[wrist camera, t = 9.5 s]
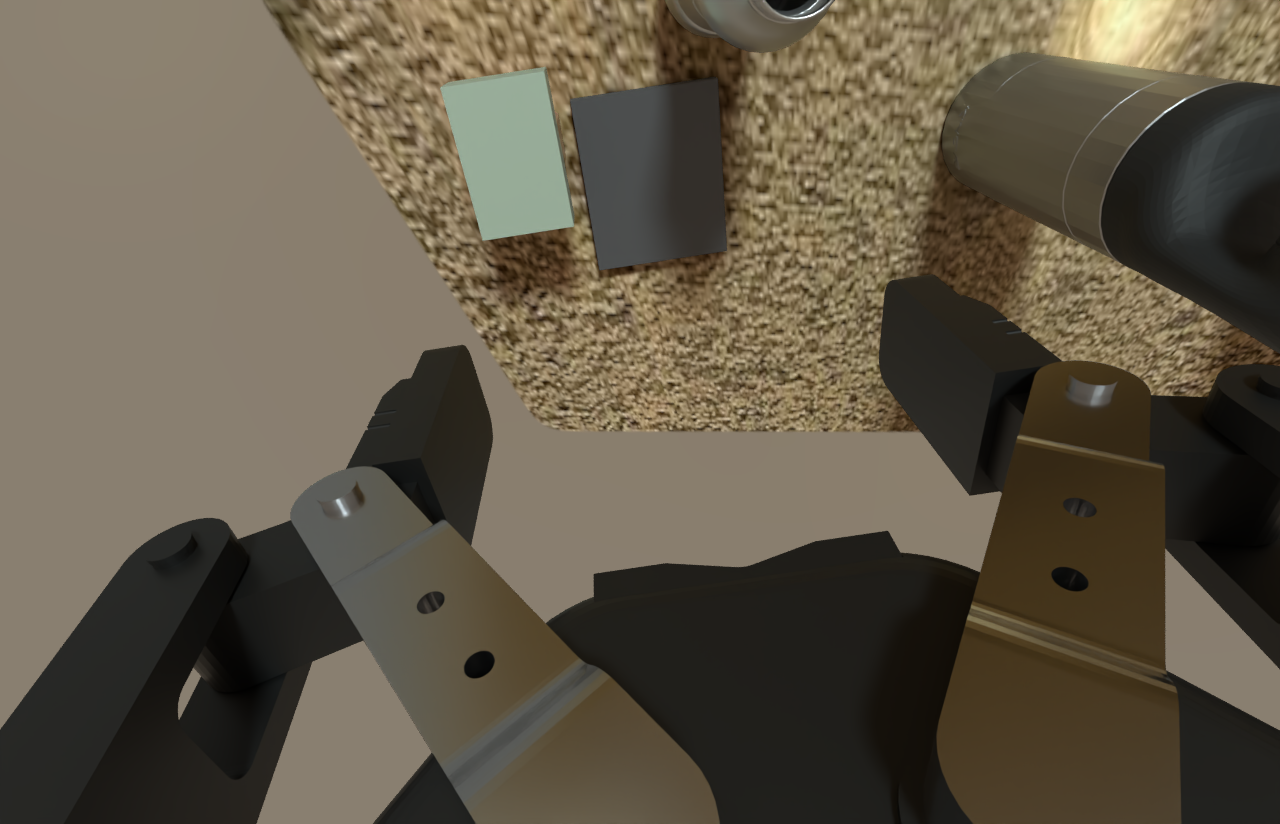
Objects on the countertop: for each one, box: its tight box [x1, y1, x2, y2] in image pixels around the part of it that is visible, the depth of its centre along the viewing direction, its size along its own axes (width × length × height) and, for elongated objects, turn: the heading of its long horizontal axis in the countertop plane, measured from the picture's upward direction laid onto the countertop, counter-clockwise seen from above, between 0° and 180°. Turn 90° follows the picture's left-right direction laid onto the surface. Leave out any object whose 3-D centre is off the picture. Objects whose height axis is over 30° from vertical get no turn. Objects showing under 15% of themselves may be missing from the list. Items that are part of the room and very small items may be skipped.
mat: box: [570, 77, 727, 270], centre depth 46 cm, size 10×12×1 cm
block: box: [440, 67, 574, 241], centre depth 40 cm, size 6×9×2 cm, turn 8°
